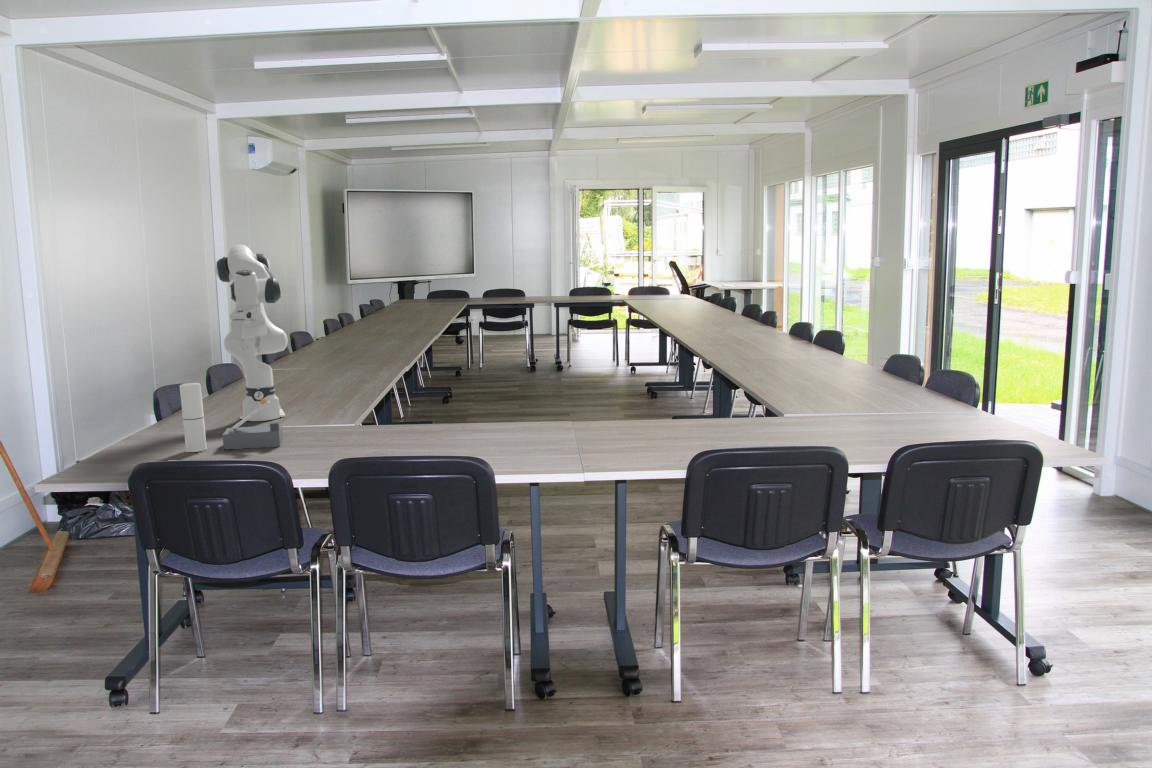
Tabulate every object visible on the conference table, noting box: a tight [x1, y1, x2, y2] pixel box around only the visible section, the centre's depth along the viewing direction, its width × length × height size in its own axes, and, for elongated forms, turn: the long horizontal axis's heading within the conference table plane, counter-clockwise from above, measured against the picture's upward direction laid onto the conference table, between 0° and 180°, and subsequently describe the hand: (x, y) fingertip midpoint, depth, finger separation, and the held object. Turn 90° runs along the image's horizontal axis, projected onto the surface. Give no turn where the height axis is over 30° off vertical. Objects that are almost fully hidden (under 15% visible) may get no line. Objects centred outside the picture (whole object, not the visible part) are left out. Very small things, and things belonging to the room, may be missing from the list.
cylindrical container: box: [179, 382, 208, 453], centre depth 320 cm, size 7×7×25 cm
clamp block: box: [221, 421, 284, 450], centre depth 329 cm, size 11×20×9 cm, turn 103°
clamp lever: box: [230, 397, 270, 430], centre depth 327 cm, size 4×17×3 cm
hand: (251, 348), depth 334 cm, fingers open, 8 cm apart
